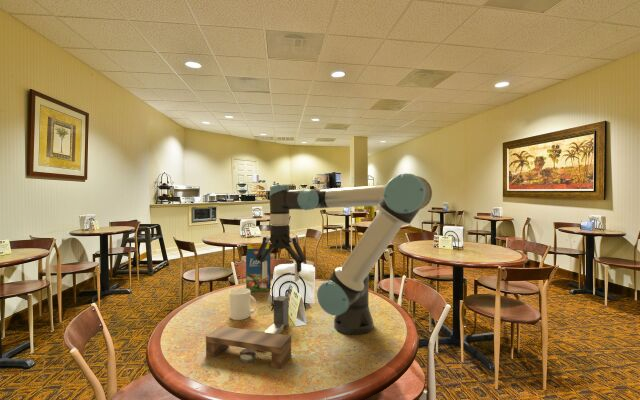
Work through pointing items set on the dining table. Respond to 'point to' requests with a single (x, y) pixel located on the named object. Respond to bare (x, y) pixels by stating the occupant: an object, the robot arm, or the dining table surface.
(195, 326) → the dining table surface
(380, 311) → the dining table surface
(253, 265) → the blue food package
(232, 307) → the mug
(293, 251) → the robot arm
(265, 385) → the dining table surface
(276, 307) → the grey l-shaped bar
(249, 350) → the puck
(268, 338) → the riser
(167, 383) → the dining table surface
